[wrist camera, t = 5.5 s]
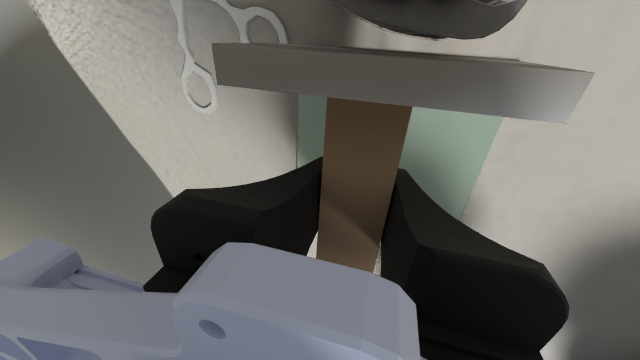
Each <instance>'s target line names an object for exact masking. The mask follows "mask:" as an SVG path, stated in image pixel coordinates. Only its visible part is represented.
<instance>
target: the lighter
mask: <svg viewBox="0 0 640 360" xmlns="http://www.w3.org/2000/svg"><path fill="white" fill-rule="evenodd" d="M332 1H333V2H334V3H336V4H337V5H339V6H340V7H342V8H343V9H345V10H346V11H348V12H349V13H351V14H353V15H354V16H356V17H357V18H359V19H361V20H363V21H365V22H367V23H369V24H371V25H374V26H376V27H378V28H380V29H382V30H385V31H389V32H392V33H396V34H400V35H403V36H407V37H412V38H420V39H427V40H435V41H439V40H447V39H449V38H456V39H477V38H484V37H486V36H488V35H490V34H493V33H495V32H497V31H499V30H500V29H501V28H502V27H504V26H505V25H506V24H507V23H509V22H510V21H511V20H512V19H513V18H514V17H515V16H516V15H517V13H518V12H519V11H520V10H521V8H522V7H523V6H524V4H525V3H526V2H527V0H332Z"/></svg>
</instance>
